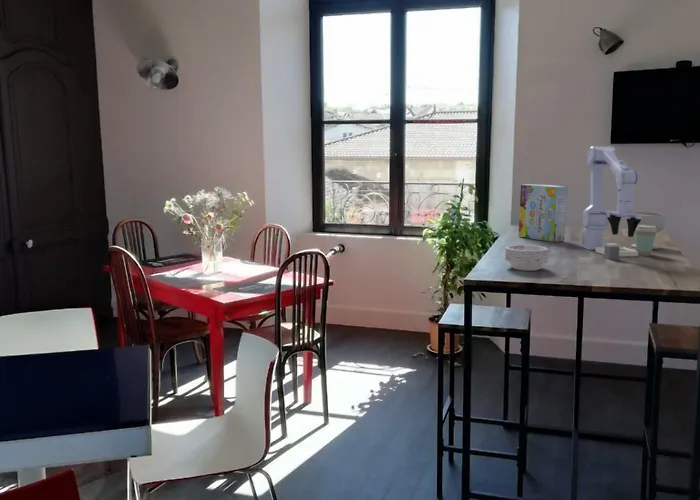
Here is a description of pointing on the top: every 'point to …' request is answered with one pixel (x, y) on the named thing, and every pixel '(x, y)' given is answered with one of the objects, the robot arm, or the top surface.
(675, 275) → the top surface
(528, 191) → the snack box
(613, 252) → the plug
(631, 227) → the robot arm
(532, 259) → the white round bowl
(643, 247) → the coffee cup
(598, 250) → the socket plate
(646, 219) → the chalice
